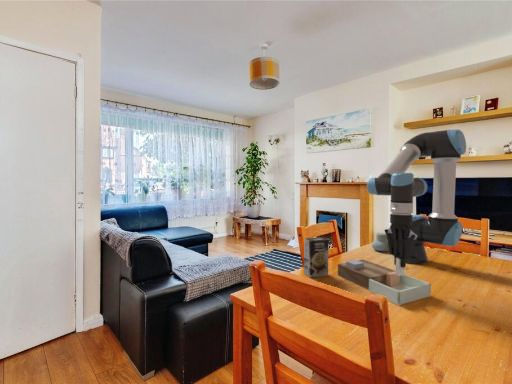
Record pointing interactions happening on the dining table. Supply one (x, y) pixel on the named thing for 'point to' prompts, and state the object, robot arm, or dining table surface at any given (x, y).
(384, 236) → the air freshener
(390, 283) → the terracotta tile
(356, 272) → the board
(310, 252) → the coffee box
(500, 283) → the dining table surface
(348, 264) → the slate tile
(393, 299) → the tray
